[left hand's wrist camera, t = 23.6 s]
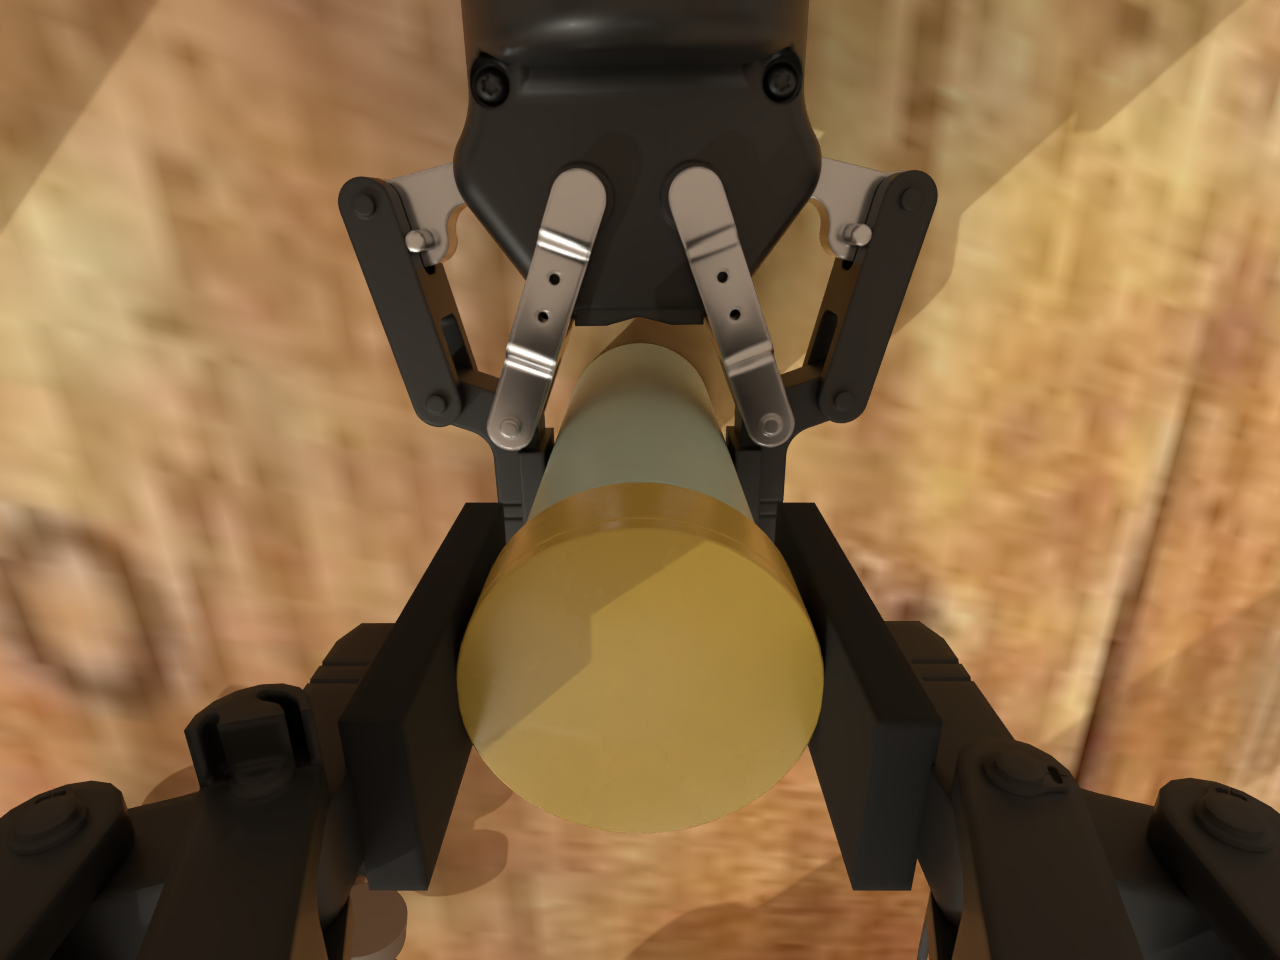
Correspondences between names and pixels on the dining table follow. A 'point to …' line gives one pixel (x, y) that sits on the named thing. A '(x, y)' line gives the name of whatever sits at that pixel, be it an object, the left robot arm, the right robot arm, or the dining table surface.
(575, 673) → the lid
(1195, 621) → the dining table surface
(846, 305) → the right robot arm
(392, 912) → the figurine character
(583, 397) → the jar
